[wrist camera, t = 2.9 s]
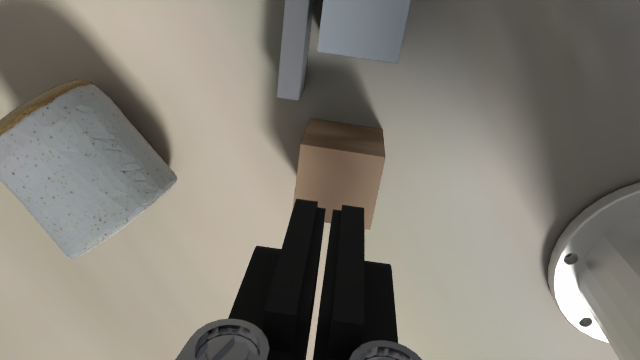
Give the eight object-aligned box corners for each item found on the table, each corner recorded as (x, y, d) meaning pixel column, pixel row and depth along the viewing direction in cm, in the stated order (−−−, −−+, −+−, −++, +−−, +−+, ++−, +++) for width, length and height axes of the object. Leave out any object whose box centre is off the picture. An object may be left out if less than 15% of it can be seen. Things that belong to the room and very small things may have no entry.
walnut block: (382, 129, 28) (385, 157, 24) (369, 193, 30) (370, 229, 26) (310, 117, 28) (300, 144, 24) (302, 182, 30) (291, 217, 26)
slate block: (408, -28, 24) (415, -26, 20) (393, 49, 26) (397, 63, 22) (333, -39, 24) (327, -39, 20) (324, 39, 26) (316, 51, 22)
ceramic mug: (107, 58, 27) (17, 92, 21) (196, 163, 30) (142, 223, 23) (6, 147, 31) (-99, 201, 24) (93, 234, 33) (20, 305, 27)
